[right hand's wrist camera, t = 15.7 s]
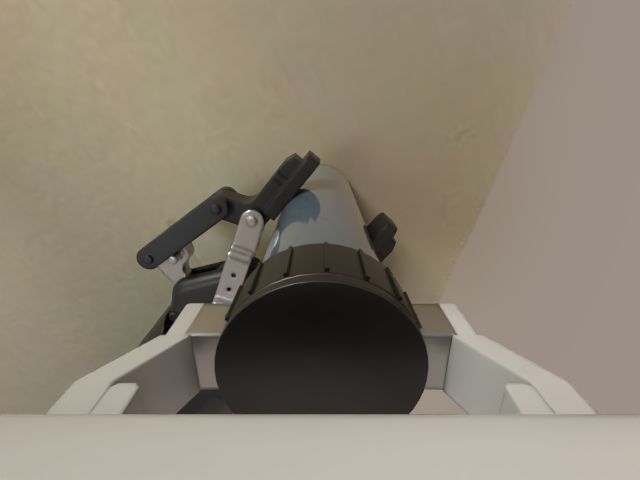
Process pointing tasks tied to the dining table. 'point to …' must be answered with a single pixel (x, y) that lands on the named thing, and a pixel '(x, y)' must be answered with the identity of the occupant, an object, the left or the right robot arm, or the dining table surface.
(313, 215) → the bottle
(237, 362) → the lid
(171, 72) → the dining table surface
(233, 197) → the left robot arm
